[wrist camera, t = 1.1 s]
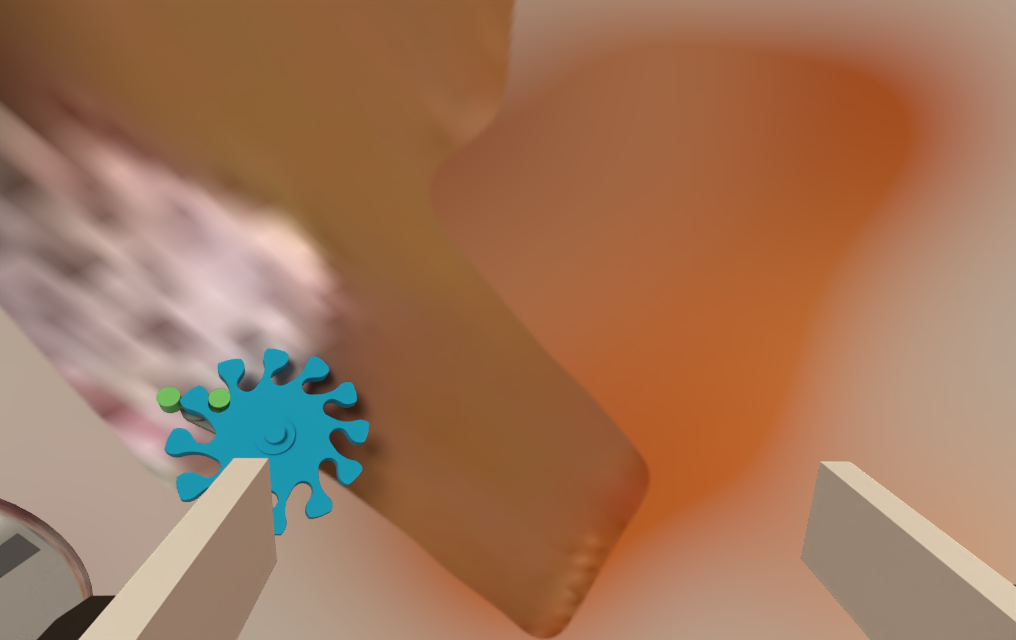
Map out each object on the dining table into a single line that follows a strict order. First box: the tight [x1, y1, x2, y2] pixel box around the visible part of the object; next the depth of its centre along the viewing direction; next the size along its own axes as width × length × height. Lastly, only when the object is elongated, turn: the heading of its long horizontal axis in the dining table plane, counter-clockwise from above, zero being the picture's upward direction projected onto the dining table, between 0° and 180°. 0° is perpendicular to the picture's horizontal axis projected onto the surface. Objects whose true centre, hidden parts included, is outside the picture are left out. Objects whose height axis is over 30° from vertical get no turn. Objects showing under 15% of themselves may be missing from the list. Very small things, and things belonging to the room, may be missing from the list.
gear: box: [157, 348, 369, 535], centre depth 31 cm, size 11×6×10 cm
